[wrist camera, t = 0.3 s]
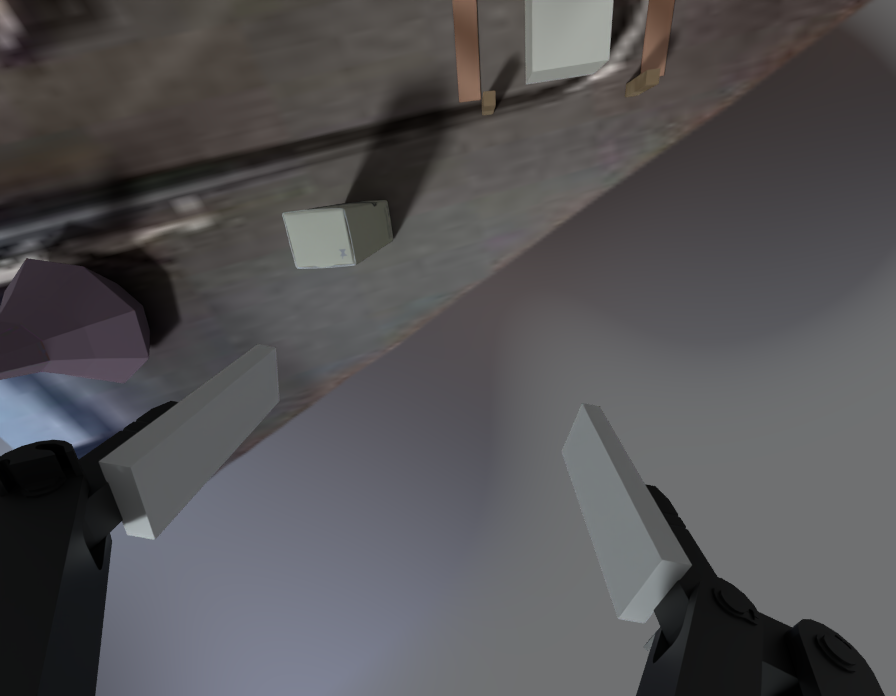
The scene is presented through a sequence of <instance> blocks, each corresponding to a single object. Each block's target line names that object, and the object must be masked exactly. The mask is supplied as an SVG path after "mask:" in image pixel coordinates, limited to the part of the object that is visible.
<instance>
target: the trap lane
mask: <svg viewBox="0 0 896 696" xmlns="http://www.w3.org/2000/svg"><path fill="white" fill-rule="evenodd" d="M674 2H675V0H649V5H648V14H647V22H646V30H645V39H644V47H643V55H642V64H641V72H640V75H639V76H638V77H636V78H635V79H633V80H632V81H630V82H629V83H627V84H626V93H625V97H632V96H637V95H639V94H641V93H643V92H645V91H646V90H648V89H650V88H652V87H654V86H655V85H657V84H659V76H664V71H665V64H666V57H667V50H668V43H669V36H670V29H671V23H672V16H673V9H674ZM453 14H454V29H455V44H456V59H457V74H458V89H459V103H460V102H467V101H475V100H481V95H480V72H479V50H478V27H477V5H476V0H453ZM495 106H496V99H495V91H487V92H483V98H482V116H483V115H491V114H493V112H494V109H495Z"/></svg>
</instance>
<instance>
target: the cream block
mask: <svg viewBox="0 0 896 696" xmlns="http://www.w3.org/2000/svg"><path fill="white" fill-rule="evenodd" d="M612 13H613V0H525V48H526V84H533V83H539V82H546V81H552V80H559V79H565V78H572V77H578V76H584V75H591V74H594V73H595V72H597V71H598V70H599V69H600V68H601V67H602V66H603V65H604V64H605V63H606V62H607V61H608V60H609V54H610V41H611V27H612Z"/></svg>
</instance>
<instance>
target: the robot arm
mask: <svg viewBox="0 0 896 696" xmlns="http://www.w3.org/2000/svg"><path fill="white" fill-rule="evenodd" d="M278 402H279V387H278V372H277V356H276V347H270V346H265V345H259V344H257V345H256V346H255V347H253V348H252V349H251V350H249V351H248V352H247V353H245V354H244V355H243V356H241V357H240V358H238V359H237V360H236V361H234V362H233V363H232V364H230V365H229V366H228V367H226V368H225V369H224V370H222V371H221V372H219V373H218V374H217V375H215V376H214V377H213V378H211V379H210V380H209V381H207V382H206V383H205V384H203V385H202V386H200V387H199V388H198V389H196V390H195V391H194V392H192V393H191V394H190V395H188V396H187V397H186V398H184V399H183V400H181V401H180V402H175V401H170V402H167V403H165V404H162V405H160V406H158V407H155V408H153V409H151V410H150V411H148V412H147V413H145V414H144V415H142V416H141V417H139V418H138V419H137V420H136V422H132V423H131V424H129V425H128V426H127V427H125V428H124V430H123V431H119V432H118V433H116V434H115V435H114V436H112V437H111V438H109V439H108V440H106V441H105V442H104V443H102V444H101V445H99V446H98V447H96V448H95V449H93V450H92V451H91V452H89V453H88V454H86V455H85V456H83V457H82V458H81V459H79V460H78V458H77V455H76V453H75V451H74V449H73V446H72V444H70V443H68V442H66V441H61V440H47V441H39V442H35V443H31V444H28V445H24V446H21V447H19V448H16V449H14V450H12V451H9V452H7V453H5V454H3V455H2V456H0V696H95V693H96V683H97V674H98V665H99V656H100V647H101V638H102V628H103V619H104V610H105V601H106V592H107V582H108V573H109V564H110V555H111V545H112V539H111V535H110V532H111V531H112V530H113V529H114V528H115V527H116V526H117V525H118V524H119V523H120V522H121V521H122V522H123V525H124V528H125V530H126V533H127V535H131V536H137V537H143V538H149V539H156V538H157V537H158V536H159V535H160V534H161V532H162V531H163V530H164V529H165V528H166V527H167V526H168V525H169V524H170V522H171V521H172V520H173V519H174V518H175V517H176V516H177V515H178V513H179V512H180V511H181V510H182V509H183V508H184V507H185V506H186V505H187V504H188V502H189V501H190V500H191V499H192V498H193V497H194V496H195V495H196V493H197V492H198V491H199V490H200V489H201V488H202V487H203V486H204V485H205V483H206V482H207V481H208V480H209V479H210V478H211V477H212V476H213V475H214V473H215V472H216V471H217V470H218V469H219V468H220V467H221V466H222V465H223V463H224V462H225V461H226V460H227V459H228V458H229V457H230V456H231V454H232V453H233V452H234V451H235V450H236V449H237V448H238V447H239V446H240V444H241V443H242V442H243V441H244V440H245V439H246V438H247V437H248V436H249V434H250V433H251V432H252V431H253V430H254V429H255V428H256V427H257V425H258V424H259V423H260V422H261V421H262V420H263V419H264V418H265V417H266V415H267V414H268V413H269V412H270V411H271V410H272V409H273V408H274V407H275V405H276V404H277V403H278ZM562 454H563V457H564V460H565V463H566V466H567V469H568V472H569V475H570V478H571V481H572V484H573V487H574V490H575V493H576V496H577V499H578V502H579V505H580V508H581V510H582V513H583V517H584V520H585V523H586V525H587V528H588V531H589V534H590V537H591V540H592V543H593V546H594V549H595V552H596V555H597V558H598V561H599V564H600V567H601V570H602V573H603V576H604V578H605V582H606V585H607V587H608V590H609V594H610V596H611V599H612V602H613V605H614V608H615V611H616V614H617V617H618V619H622V620H629V621H634V622H640V623H645V622H646V621H647V620H648V618H649V617H650V616H651V614H652V613H653V612H655V615H656V617H657V619H658V622H659V624H660V626H661V627H660V628H659V629H658V630H657V631H656V633H655V634H654V635H653V636H652V637H651V638H650V639H649V641H648V642H647V643H646V644H645V646H644V648H645V649H646V650H647V651H648V650H649V649H650V648H651V649H650V652H649V656H648V659H647V662H646V665H645V669H644V672H643V675H642V678H641V681H640V685H639V688H638V691H637V694H636V696H885V695H884V693H883V691H882V689H881V687H880V685H879V683H878V681H877V679H876V677H875V675H874V673H873V671H872V670H871V668H870V667H869V665H868V664H867V662H866V660H865V659H864V658H863V657H862V656H861V655H860V654H859V653H858V651H857V650H856V649H855V648H854V647H853V646H852V645H851V644H850V643H848V642H847V641H846V640H845V639H844V638H843V637H841V636H840V635H839V634H838V633H836V632H834V631H833V630H832V629H830V628H828V627H827V626H825V625H824V624H821V623H819V622H816V621H814V620H811V619H803V620H801V621H800V622H798V623H797V624H796V625H795V626H794V627H790V626H788V625H786V624H783V623H781V622H779V621H777V620H775V619H773V618H771V617H768V616H766V615H764V614H762V613H759V612H758V611H757V609H756V608H755V606H754V605H753V603H752V602H751V601H750V600H749V599H748V598H747V597H746V595H745V594H744V593H742V592H741V591H740V590H739V589H737V588H736V587H735V586H734V585H732V584H731V583H729V582H727V581H725V580H723V579H722V578H718V577H717V575H716V574H715V572H714V571H713V569H712V567H711V566H710V564H709V563H708V561H707V559H706V558H705V556H704V555H703V553H702V552H701V550H700V548H699V547H698V545H697V544H696V542H695V540H694V539H693V537H692V536H691V534H690V533H689V531H688V530H687V529H686V526H685V524H684V523H683V521H682V520H681V518H680V517H678V513H677V512H676V510H675V509H674V507H673V505H672V504H671V502H670V501H669V499H668V498H667V497H666V496H665V495H664V494H663V493H662V492H661V491H660V490H659V489H658V488H656V486H651V485H645V484H644V482H643V480H642V478H641V477H640V475H639V473H638V471H637V470H636V468H635V466H634V465H633V463H632V461H631V459H630V458H629V456H628V454H627V452H626V451H625V449H624V447H623V446H622V444H621V442H620V440H619V439H618V437H617V435H616V434H615V432H614V430H613V428H612V427H611V425H610V423H609V421H608V420H607V418H606V416H605V415H604V413H603V411H602V410H601V408H600V406H594V405H589V404H582V405H581V407H580V410H579V412H578V415H577V417H576V419H575V421H574V424H573V426H572V428H571V431H570V433H569V436H568V438H567V440H566V442H565V445H564V447H563V450H562Z"/></svg>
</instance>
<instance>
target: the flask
mask: <svg viewBox="0 0 896 696" xmlns="http://www.w3.org/2000/svg"><path fill="white" fill-rule="evenodd" d="M149 346H150V329H149V326H148V322H147V319H146V315H145V312H144V308H143V305H141V304H140V303H139V302H138V301H137V300H136V299H135V298H133V297H132V296H131V295H130V294H129V293H128V292H126V291H125V290H124V289H123V288H122V287H121V286H119V285H118V284H117V283H115V282H113V281H111V280H109V279H107V278H105V277H103V276H101V275H99V274H97V273H95V272H93V271H91V270H89V269H87V268H85V267H83V266H76V265H69V264H62V263H56V262H49V261H42V260H35V259H28V258H26V260H25V261H24V263H23V264H22V266H21V267H20V269H19V271H18V272H17V274H16V275H15V277H14V278H13V280H12V281H11V283H10V284H9V286H8V288H7V289H6V291H5V293H4V296H3V300H2V303H1V306H0V380H2V379H7V378H12V377H17V376H22V375H27V374H32V373H38V372H49V373H58V374H66V375H71V376H77V377H84V378H91V379H98V380H105V381H112V382H118V383H125V382H126V381H127V380H128V379H129V378H130V377H131V376H132V375H133V374H134V373H135V372H136V371H137V370H138V369H139V368H140V367H141V366H142V365H143V364H144V363H145V362H146V361H147V360H148V359H149Z"/></svg>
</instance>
